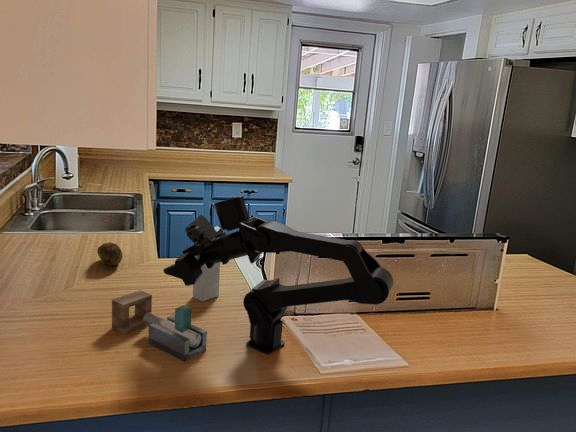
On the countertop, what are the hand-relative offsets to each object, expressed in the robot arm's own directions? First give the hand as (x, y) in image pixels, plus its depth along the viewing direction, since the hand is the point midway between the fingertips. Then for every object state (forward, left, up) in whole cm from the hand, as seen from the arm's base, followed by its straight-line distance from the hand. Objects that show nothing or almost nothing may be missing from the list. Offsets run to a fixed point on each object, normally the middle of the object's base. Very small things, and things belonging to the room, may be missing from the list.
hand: (174, 262), depth 115 cm
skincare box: (+4, -16, -15) cm, 22 cm away
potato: (+41, -13, -15) cm, 46 cm away
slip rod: (-8, +8, -13) cm, 17 cm away
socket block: (+5, +8, -15) cm, 18 cm away
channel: (-10, +8, -15) cm, 20 cm away
